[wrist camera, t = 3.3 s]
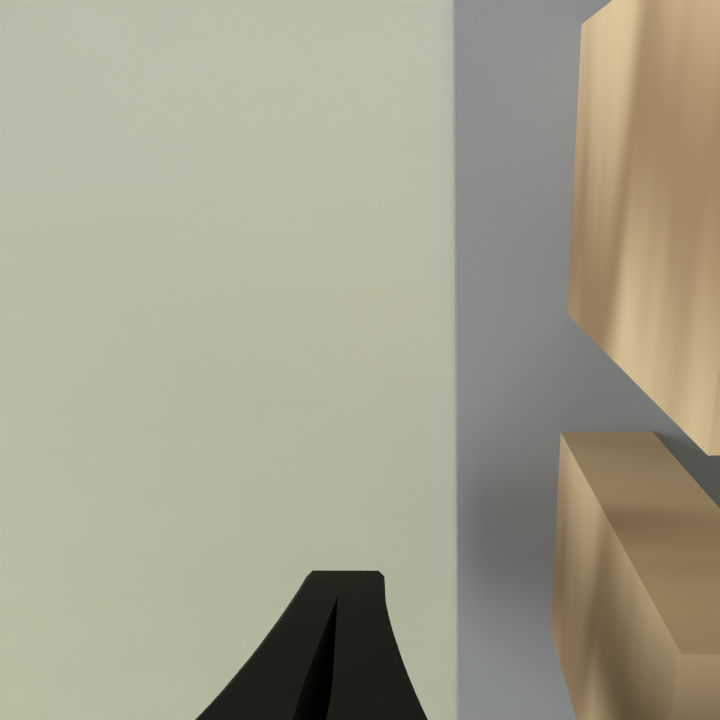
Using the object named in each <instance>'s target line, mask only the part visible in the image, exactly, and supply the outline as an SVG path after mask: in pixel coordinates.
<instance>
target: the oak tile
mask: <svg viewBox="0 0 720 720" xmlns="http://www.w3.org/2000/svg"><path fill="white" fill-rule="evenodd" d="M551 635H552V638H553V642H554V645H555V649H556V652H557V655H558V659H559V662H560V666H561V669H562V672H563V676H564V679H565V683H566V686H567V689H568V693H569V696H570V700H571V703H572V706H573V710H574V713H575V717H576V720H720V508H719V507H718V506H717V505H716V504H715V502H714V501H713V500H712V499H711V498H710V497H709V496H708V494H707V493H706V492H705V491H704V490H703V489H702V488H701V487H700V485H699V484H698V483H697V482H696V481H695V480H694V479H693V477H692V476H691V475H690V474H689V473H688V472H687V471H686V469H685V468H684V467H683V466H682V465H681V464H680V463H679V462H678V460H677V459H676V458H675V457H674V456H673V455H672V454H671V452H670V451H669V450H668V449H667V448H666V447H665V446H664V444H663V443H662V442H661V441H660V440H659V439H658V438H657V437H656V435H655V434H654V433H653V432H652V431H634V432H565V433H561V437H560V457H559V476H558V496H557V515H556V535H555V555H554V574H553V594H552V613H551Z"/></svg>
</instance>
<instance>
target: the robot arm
mask: <svg viewBox="0 0 720 720" xmlns="http://www.w3.org/2000/svg"><path fill="white" fill-rule="evenodd" d="M196 720H427V717H426V715H425V713H424V711H423V709H422V707H421V705H420V702H419V700H418V698H417V696H416V693H415V691H414V688H413V686H412V684H411V681H410V679H409V677H408V674H407V671H406V669H405V666H404V664H403V661H402V658H401V655H400V652H399V649H398V646H397V643H396V640H395V637H394V634H393V631H392V627H391V624H390V620H389V615H388V611H387V607H386V601H385V582H384V576H383V575H382V574H381V573H380V572H379V571H312V572H311V573H310V574H309V575H308V576H307V577H306V579H305V580H304V582H303V584H302V585H301V587H300V589H299V590H298V592H297V593H296V595H295V596H294V598H293V599H292V601H291V602H290V604H289V605H288V607H287V608H286V610H285V611H284V613H283V614H282V616H281V617H280V618H279V620H278V621H277V623H276V624H275V625H274V627H273V628H272V629H271V631H270V632H269V633H268V635H267V636H266V638H265V639H264V640H263V642H262V643H261V644H260V646H259V647H258V648H257V650H256V651H255V652H254V653H253V655H252V656H251V657H250V658H249V660H248V661H247V662H246V663H245V664H244V666H243V667H242V668H241V669H240V670H239V672H238V673H237V674H236V675H235V676H234V678H233V679H232V680H231V681H230V682H229V684H228V685H227V686H226V687H225V688H224V689H223V691H222V692H221V693H220V694H219V695H218V696H217V697H216V698H215V699H214V701H213V702H212V703H211V704H210V705H209V706H208V707H207V708H206V709H205V710H204V711H203V712H202V713H201V714H200V715H199V716H198V718H197V719H196Z"/></svg>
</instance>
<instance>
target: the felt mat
mask: <svg viewBox="0 0 720 720" xmlns="http://www.w3.org/2000/svg"><path fill="white" fill-rule="evenodd" d="M611 1H612V0H454V139H455V329H456V519H457V710H458V720H576V717H575V713H574V710H573V706H572V703H571V700H570V696H569V693H568V689H567V686H566V683H565V679H564V676H563V672H562V669H561V666H560V662H559V659H558V655H557V652H556V649H555V645H554V642H553V638H552V635H551V613H552V594H553V574H554V555H555V535H556V515H557V496H558V476H559V457H560V437H561V433H565V432H634V431H652V432H653V433H654V434H655V435H656V437H657V438H658V439H659V440H660V441H661V442H662V443H663V444H664V446H665V447H666V448H667V449H668V450H669V451H670V452H671V454H672V455H673V456H674V457H675V458H676V459H677V460H678V462H679V463H680V464H681V465H682V466H683V467H684V468H685V469H686V471H687V472H688V473H689V474H690V475H691V476H692V477H693V479H694V480H695V481H696V482H697V483H698V484H699V485H700V487H701V488H702V489H703V490H704V491H705V492H706V493H707V494H708V496H709V497H710V498H711V499H712V500H713V501H714V502H715V504H716V505H717V506H718V507H719V508H720V455H709V456H708V455H707V454H706V453H705V452H704V451H703V450H702V449H701V448H700V447H699V446H698V445H697V444H696V443H695V442H694V441H693V440H692V439H691V438H690V437H689V436H688V435H687V434H686V433H685V432H684V431H683V430H682V429H681V428H680V427H679V426H678V425H677V424H676V423H675V422H674V421H673V420H672V419H671V418H670V417H669V416H668V415H667V414H666V413H665V412H664V411H663V410H662V409H661V408H660V407H659V406H658V405H657V404H656V403H655V402H654V401H653V400H652V399H651V398H650V397H649V396H648V395H647V394H646V393H645V392H644V391H643V390H642V389H641V388H640V387H639V386H638V385H637V384H636V383H635V382H634V381H633V380H632V379H631V378H630V377H629V376H628V375H627V374H626V373H625V372H624V371H623V370H622V369H621V368H620V367H619V366H618V365H617V364H616V363H615V362H614V361H613V360H612V359H611V358H610V357H609V356H608V355H607V354H606V353H605V352H604V351H603V350H602V349H601V348H600V347H599V346H598V345H597V344H596V343H595V342H594V341H593V340H592V339H591V338H590V337H589V336H588V335H587V334H586V333H585V332H584V331H583V330H582V329H581V328H580V327H579V326H578V325H577V324H576V323H575V322H574V321H573V320H572V319H571V318H570V317H569V316H568V315H567V300H568V281H569V261H570V242H571V222H572V202H573V183H574V163H575V144H576V124H577V105H578V85H579V65H580V46H581V26H582V24H583V23H584V22H585V21H587V20H588V19H589V18H590V17H592V16H593V15H594V14H596V13H597V12H598V11H599V10H601V9H602V8H603V7H604V6H606V5H607V4H608V3H610V2H611Z"/></svg>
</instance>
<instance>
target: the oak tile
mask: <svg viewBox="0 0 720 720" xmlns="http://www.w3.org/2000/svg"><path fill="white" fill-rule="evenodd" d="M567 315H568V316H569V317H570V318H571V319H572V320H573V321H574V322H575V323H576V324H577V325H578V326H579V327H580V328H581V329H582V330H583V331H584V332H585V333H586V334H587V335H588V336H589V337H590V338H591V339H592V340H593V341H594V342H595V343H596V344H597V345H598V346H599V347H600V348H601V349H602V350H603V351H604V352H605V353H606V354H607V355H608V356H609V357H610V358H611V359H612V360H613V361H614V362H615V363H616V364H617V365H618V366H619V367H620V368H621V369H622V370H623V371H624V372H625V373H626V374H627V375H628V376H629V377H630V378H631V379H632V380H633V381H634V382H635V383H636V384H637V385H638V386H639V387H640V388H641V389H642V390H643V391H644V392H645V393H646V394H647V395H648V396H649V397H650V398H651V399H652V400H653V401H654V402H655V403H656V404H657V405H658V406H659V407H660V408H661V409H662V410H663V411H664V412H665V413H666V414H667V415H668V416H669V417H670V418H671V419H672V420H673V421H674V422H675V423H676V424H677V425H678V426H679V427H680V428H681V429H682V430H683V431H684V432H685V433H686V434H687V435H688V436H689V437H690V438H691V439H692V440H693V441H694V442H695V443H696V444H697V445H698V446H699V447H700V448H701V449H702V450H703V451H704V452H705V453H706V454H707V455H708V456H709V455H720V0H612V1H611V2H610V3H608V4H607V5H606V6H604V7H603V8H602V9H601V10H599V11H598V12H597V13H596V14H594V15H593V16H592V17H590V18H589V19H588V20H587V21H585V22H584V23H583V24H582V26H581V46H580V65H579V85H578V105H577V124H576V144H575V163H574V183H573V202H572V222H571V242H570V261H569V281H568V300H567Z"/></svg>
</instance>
